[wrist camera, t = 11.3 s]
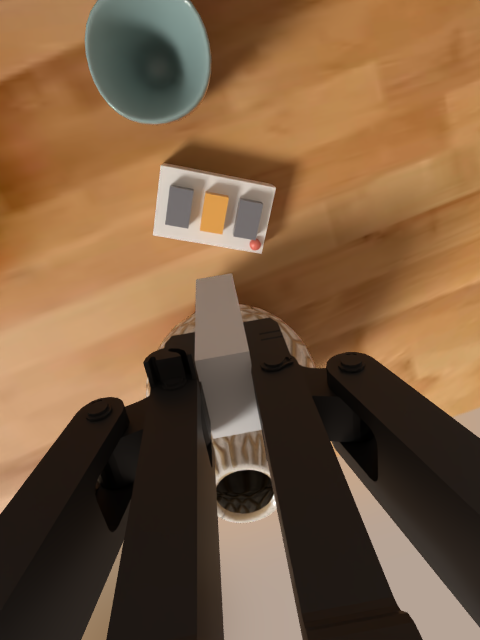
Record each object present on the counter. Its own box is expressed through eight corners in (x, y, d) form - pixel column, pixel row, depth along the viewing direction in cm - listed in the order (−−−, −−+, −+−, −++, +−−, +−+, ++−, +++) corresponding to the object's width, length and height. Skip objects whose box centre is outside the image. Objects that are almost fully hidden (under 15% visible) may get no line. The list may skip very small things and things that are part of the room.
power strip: (156, 227, 41) (151, 238, 37) (163, 162, 38) (159, 166, 35) (257, 245, 42) (263, 257, 39) (271, 183, 40) (278, 189, 36)
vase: (329, 340, 47) (410, 475, 29) (237, 433, 51) (256, 601, 33) (217, 252, 42) (230, 348, 24) (125, 363, 46) (76, 517, 28)
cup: (197, 7, 34) (196, -37, 25) (217, 115, 37) (223, 111, 28) (101, 27, 34) (64, -9, 25) (130, 133, 37) (106, 135, 28)
